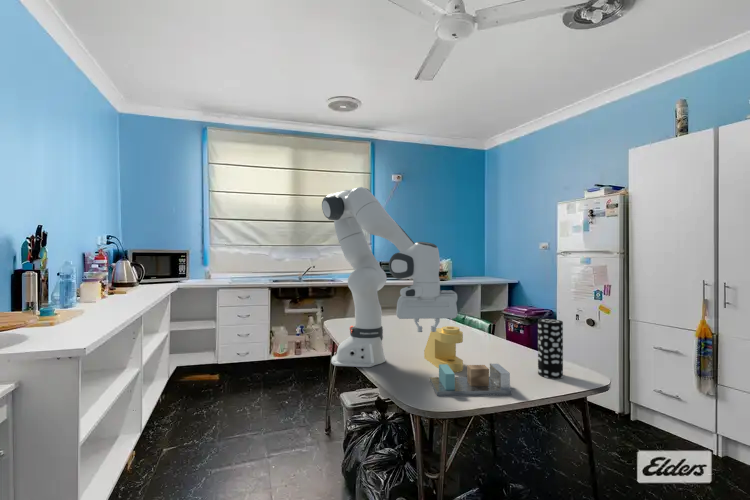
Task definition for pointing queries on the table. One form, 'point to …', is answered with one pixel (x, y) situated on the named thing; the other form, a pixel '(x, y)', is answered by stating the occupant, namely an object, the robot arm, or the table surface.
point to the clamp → (444, 347)
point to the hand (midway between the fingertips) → (426, 331)
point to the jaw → (447, 377)
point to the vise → (497, 386)
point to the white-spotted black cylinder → (550, 348)
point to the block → (478, 375)
